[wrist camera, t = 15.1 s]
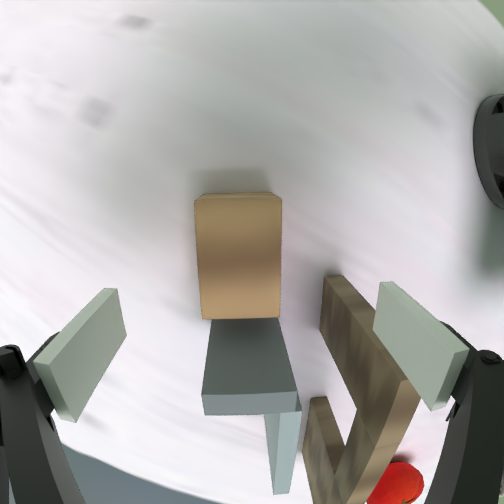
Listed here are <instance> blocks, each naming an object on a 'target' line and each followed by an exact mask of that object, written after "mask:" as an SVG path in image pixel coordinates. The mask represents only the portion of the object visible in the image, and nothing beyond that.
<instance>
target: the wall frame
mask: <svg viewBox="0 0 504 504" xmlns="http://www.w3.org/2000/svg"><path fill="white" fill-rule="evenodd" d="M375 313H376V311H375V310H374V308H373V307H372V306H371V305H370V304H369V303H368V302H367V301H366V300H365V299H364V297H363V296H362V295H361V294H360V293H359V292H358V291H357V290H356V289H355V288H354V287H353V285H352V284H351V283H350V282H349V281H348V280H347V279H346V278H345V277H344V276H326V277H324V285H323V298H322V310H321V321H320V332H321V334H322V336H323V338H324V340H325V342H326V345H327V347H328V349H329V351H330V353H331V355H332V357H333V359H334V361H335V363H336V365H337V367H338V370H339V372H340V374H341V376H342V378H343V380H344V382H345V384H346V387H347V389H348V391H349V393H350V395H351V397H352V399H353V402H354V404H355V406H356V408H357V411H356V415H355V418H354V421H353V424H352V428H351V431H350V434H349V437H348V440H347V443H346V446H345V445H344V442H343V439H342V437H341V434H340V431H339V428H338V426H337V423H336V420H335V417H334V415H333V412H332V409H331V407H330V404H329V401H328V398H327V397H319V398H311V402H310V409H309V415H308V421H307V427H306V433H305V439H304V445H303V450H302V454H303V459H304V463H305V468H306V472H307V477H308V481H309V486H310V490H311V495H312V500H313V504H364V503H365V502H366V500H367V499H368V497H369V496H370V494H371V493H372V491H373V490H374V488H375V486H376V485H377V483H378V482H379V480H380V478H381V477H382V475H383V473H384V472H385V470H386V468H387V466H388V465H389V463H390V461H391V459H392V457H393V456H394V454H395V452H396V450H397V448H398V446H399V444H400V442H401V440H402V438H403V436H404V434H405V432H406V430H407V428H408V426H409V424H410V422H411V420H412V417H413V415H414V413H415V411H416V408H417V406H418V404H419V401H420V399H421V397H420V395H419V394H418V392H417V391H416V389H415V388H414V387H413V385H412V384H411V382H410V381H409V379H408V378H407V377H406V375H405V374H404V372H403V371H402V369H401V368H400V367H399V365H398V364H397V362H396V361H395V360H394V358H393V357H392V356H391V354H390V353H389V351H388V350H387V349H386V347H385V346H384V345H383V343H382V342H381V341H380V339H379V338H378V336H377V335H376V334H375V332H374V331H373V324H374V318H375Z"/></svg>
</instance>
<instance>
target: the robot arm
mask: <svg viewBox="0 0 504 504" xmlns="http://www.w3.org/2000/svg"><path fill="white" fill-rule="evenodd" d="M474 151H475V158H476V164H477V168H478V172H479V176H480V179H481V182H482V184H483V187H484V189H485V191H486V193H487V194H488V196H489V197H490V199H491V200H492V201H493V202H494V203H495V204H496V205H497V206H498V207H500V208H502V209H504V94H500V95H494V96H490V97H488V98H487V99H486V100H485V101H484V102H483V103H482V104H481V106H480V108H479V110H478V113H477V116H476V121H475V127H474ZM373 331H374V332H375V334H376V335H377V336H378V338H379V339H380V341H381V342H382V343H383V345H384V346H385V347H386V349H387V350H388V351H389V353H390V354H391V356H392V357H393V358H394V360H395V361H396V362H397V364H398V365H399V367H400V368H401V369H402V371H403V372H404V374H405V375H406V377H407V378H408V379H409V381H410V382H411V384H412V385H413V387H414V388H415V389H416V391H417V392H418V394H419V395H420V397H421V398H422V400H423V401H424V402H425V404H426V405H427V407H428V408H429V410H430V411H434V410H437V409H440V408H443V407H446V405H447V402H448V400H449V398H450V396H451V395H452V397H453V398H454V399H455V400H456V401H455V403H454V405H453V407H452V409H451V411H450V413H449V415H448V417H447V419H446V420H445V421H448V420H449V418H450V420H449V425H448V429H447V433H446V437H445V441H444V445H443V449H442V452H441V456H440V459H439V463H438V466H437V469H436V472H435V475H434V478H433V481H432V484H431V487H430V489H429V492H428V495H427V497H426V500H425V503H424V504H498V499H499V494H500V488H501V481H502V474H503V473H504V360H502V358H501V357H500V356H499V355H498V354H496V353H495V352H493V351H490V350H480V351H477V350H476V349H475V348H474V347H473V346H472V345H471V344H470V343H469V342H468V341H466V340H465V339H464V338H463V337H461V335H460V334H459V333H458V332H457V333H456V331H455V330H454V329H453V328H452V327H451V326H450V325H448V324H446V323H444V322H442V321H439V320H437V319H436V318H435V317H434V316H433V315H432V314H431V313H429V312H428V311H427V310H426V309H425V308H424V307H423V306H421V305H420V304H419V303H418V302H417V301H416V300H414V299H413V298H412V297H411V296H410V295H409V294H407V293H406V292H405V291H404V290H403V289H401V288H400V287H399V286H398V285H397V284H395V283H394V282H393V281H392V282H380V286H379V293H378V300H377V306H376V313H375V318H374V324H373ZM126 336H127V335H126V331H125V326H124V321H123V317H122V312H121V307H120V301H119V296H118V291H117V288H104V289H103V290H102V291H101V292H99V293H98V294H97V295H96V296H95V297H94V298H93V299H92V300H91V301H90V302H89V303H88V304H87V305H86V306H85V307H84V308H83V309H82V310H81V311H80V312H79V313H78V314H77V315H76V316H75V317H74V318H73V319H72V320H71V321H70V322H69V323H68V324H67V325H66V326H65V327H64V328H63V329H62V331H61V332H58V333H56V334H54V335H52V336H51V337H50V338H49V339H48V340H47V341H46V342H45V343H44V344H43V345H42V346H41V347H40V348H39V350H37V351H36V352H35V353H34V354H33V355H32V357H31V358H30V359H29V360H28V361H27V362H26V363H25V360H24V358H23V355H22V353H21V350H20V348H19V347H18V346H16V345H5V346H2V347H0V504H9V477H10V482H11V486H12V491H13V495H14V499H15V502H16V504H86V502H85V500H84V498H83V496H82V494H81V492H80V489H79V487H78V485H77V483H76V481H75V478H74V476H73V474H72V471H71V468H70V466H69V463H68V461H67V458H66V456H65V453H64V450H63V447H62V444H61V442H60V439H59V436H58V433H57V429H56V426H55V423H54V420H53V418H52V416H51V415H50V414H51V412H52V411H53V409H54V408H55V410H56V412H57V414H58V416H59V418H60V419H62V420H66V421H70V422H74V423H76V422H77V420H78V418H79V416H80V415H81V413H82V411H83V409H84V407H85V406H86V404H87V402H88V400H89V398H90V397H91V395H92V393H93V391H94V390H95V388H96V386H97V385H98V383H99V381H100V379H101V378H102V376H103V374H104V373H105V371H106V369H107V368H108V366H109V364H110V362H111V361H112V359H113V358H114V356H115V354H116V353H117V351H118V349H119V348H120V346H121V344H122V343H123V341H124V340H125V338H126Z"/></svg>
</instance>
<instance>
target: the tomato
mask: <svg viewBox="0 0 504 504" xmlns="http://www.w3.org/2000/svg"><path fill="white" fill-rule="evenodd" d="M423 488H424V481H423V476H422V474H421V473H420V472H419V471H418V470H417V469H416V468H414V467H413V466H412V465H411V464H408V463H405V462H394V463H389V465H388V466H387V468H386V470H385V472H384V473H383V475H382V477H381V478H380V480H379V482H378V483H377V485H376V486H375V488H374V490H373V491H372V493H371V494H370V496H369V497H368V499H367V500H366V502H367V504H411V503H412V502H414V501H415V500H416V499H417V498H418V497H419V496H420V495H421V493H422V491H423Z"/></svg>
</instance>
